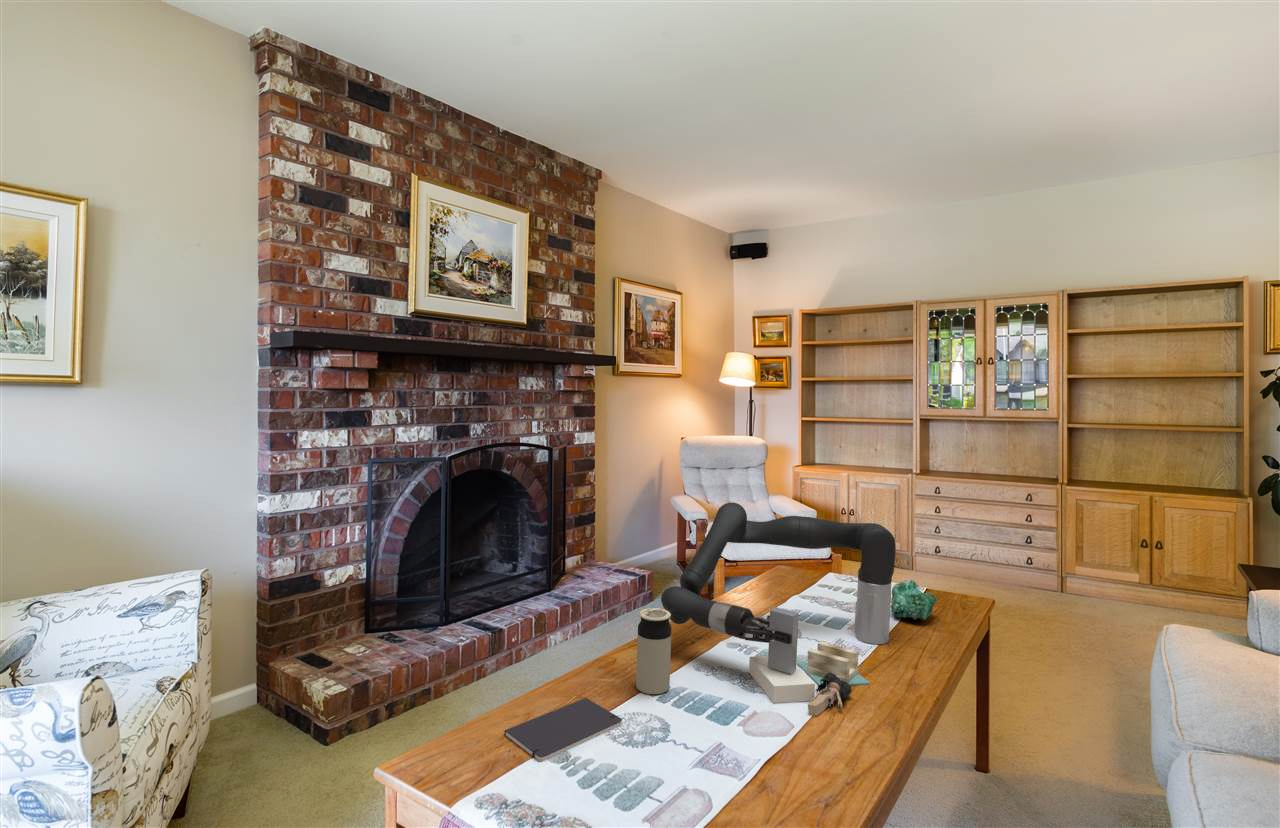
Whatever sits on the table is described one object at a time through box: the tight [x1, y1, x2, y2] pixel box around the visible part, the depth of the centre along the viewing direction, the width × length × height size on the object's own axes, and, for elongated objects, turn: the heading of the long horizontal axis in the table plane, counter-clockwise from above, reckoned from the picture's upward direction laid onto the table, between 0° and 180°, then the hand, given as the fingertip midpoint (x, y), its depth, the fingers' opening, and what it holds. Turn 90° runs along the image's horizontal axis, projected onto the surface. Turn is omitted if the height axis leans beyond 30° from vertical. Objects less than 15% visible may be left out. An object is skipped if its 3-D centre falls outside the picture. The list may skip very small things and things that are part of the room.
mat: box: [797, 661, 871, 688], centre depth 164 cm, size 13×13×1 cm
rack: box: [806, 641, 859, 683], centre depth 164 cm, size 10×9×6 cm
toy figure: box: [807, 673, 853, 717], centre depth 148 cm, size 7×6×15 cm
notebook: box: [504, 697, 623, 762], centre depth 134 cm, size 13×2×21 cm
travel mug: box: [635, 607, 672, 695], centre depth 153 cm, size 8×8×18 cm
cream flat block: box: [748, 655, 816, 704], centre depth 156 cm, size 16×10×4 cm, turn 11°
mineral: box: [890, 579, 938, 622], centre depth 208 cm, size 18×16×10 cm
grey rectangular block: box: [767, 607, 800, 674], centre depth 156 cm, size 6×3×14 cm, turn 53°
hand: (793, 637), depth 154 cm, fingers closed on grey rectangular block, 3 cm apart
